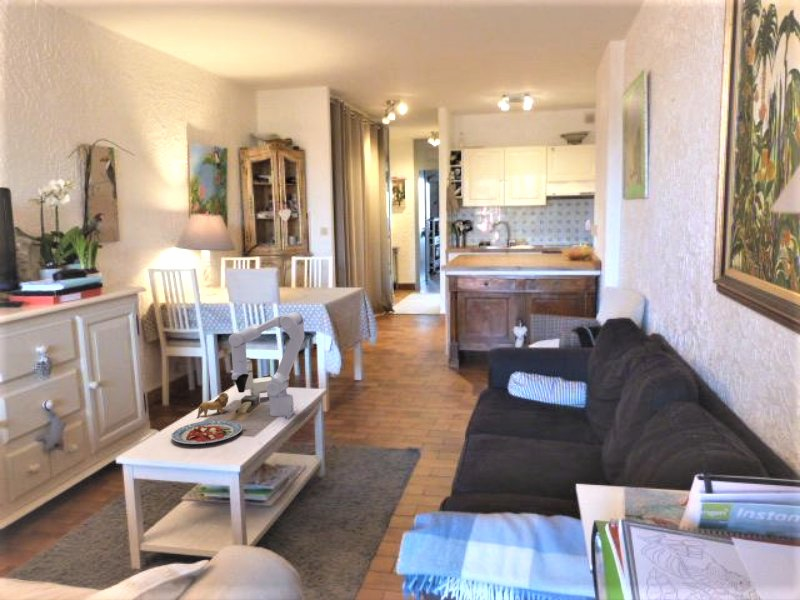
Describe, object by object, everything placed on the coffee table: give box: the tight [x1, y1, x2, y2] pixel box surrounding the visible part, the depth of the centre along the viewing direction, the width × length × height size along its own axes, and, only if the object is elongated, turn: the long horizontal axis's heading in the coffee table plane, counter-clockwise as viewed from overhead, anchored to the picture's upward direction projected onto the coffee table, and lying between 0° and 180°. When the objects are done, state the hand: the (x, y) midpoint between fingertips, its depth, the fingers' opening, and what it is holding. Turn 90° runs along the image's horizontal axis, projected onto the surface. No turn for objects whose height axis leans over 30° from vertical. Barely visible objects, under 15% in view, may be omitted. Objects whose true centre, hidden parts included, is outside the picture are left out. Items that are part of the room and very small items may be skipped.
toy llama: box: [245, 357, 273, 404], centre depth 276 cm, size 8×18×20 cm, turn 115°
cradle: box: [223, 395, 263, 422], centre depth 261 cm, size 9×22×4 cm, turn 174°
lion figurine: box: [196, 392, 230, 420], centre depth 258 cm, size 15×5×9 cm, turn 133°
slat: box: [237, 401, 253, 414], centre depth 264 cm, size 3×12×2 cm, turn 174°
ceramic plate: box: [170, 419, 243, 445], centre depth 235 cm, size 26×26×3 cm
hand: (241, 392), depth 260 cm, fingers closed
